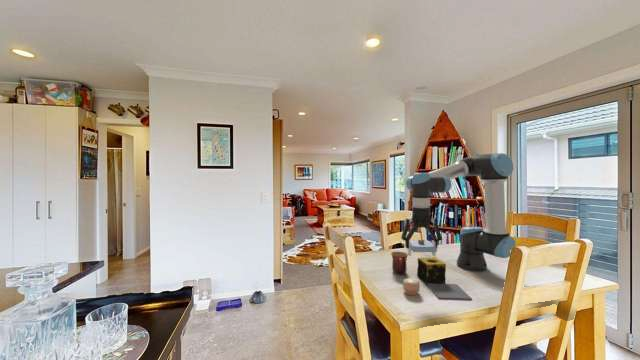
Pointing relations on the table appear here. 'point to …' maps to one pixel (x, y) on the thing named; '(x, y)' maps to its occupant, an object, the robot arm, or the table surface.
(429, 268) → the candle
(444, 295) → the mat
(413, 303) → the table surface
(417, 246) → the lid
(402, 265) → the mug
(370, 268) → the table surface
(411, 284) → the bowl
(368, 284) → the table surface
